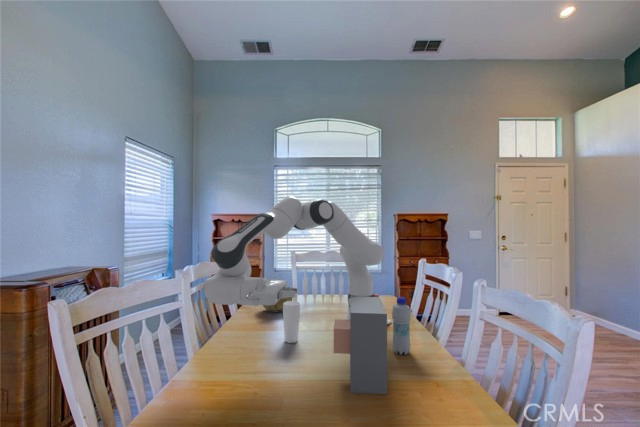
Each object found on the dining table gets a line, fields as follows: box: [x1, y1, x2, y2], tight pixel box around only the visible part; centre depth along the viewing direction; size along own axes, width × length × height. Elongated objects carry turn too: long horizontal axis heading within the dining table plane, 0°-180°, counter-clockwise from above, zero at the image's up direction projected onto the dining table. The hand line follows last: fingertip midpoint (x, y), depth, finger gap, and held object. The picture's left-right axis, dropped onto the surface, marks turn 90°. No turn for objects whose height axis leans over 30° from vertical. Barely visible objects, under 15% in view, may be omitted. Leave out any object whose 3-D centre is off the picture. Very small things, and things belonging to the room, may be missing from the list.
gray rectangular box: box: [349, 296, 388, 395], centre depth 97 cm, size 10×20×22 cm, turn 175°
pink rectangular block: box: [333, 319, 351, 355], centre depth 98 cm, size 5×9×7 cm, turn 175°
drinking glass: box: [282, 300, 301, 344], centre depth 126 cm, size 7×7×15 cm
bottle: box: [391, 296, 412, 356], centre depth 115 cm, size 7×7×20 cm
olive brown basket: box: [262, 278, 294, 313], centre depth 169 cm, size 22×17×15 cm
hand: (296, 292), depth 100 cm, fingers open, 3 cm apart
